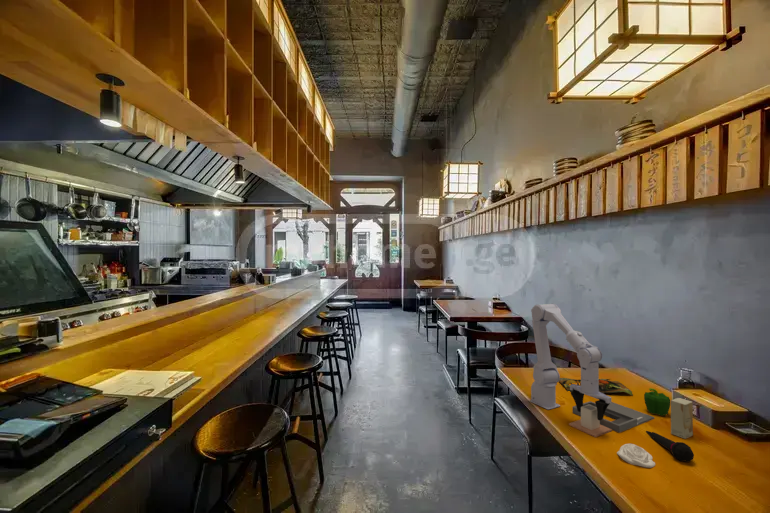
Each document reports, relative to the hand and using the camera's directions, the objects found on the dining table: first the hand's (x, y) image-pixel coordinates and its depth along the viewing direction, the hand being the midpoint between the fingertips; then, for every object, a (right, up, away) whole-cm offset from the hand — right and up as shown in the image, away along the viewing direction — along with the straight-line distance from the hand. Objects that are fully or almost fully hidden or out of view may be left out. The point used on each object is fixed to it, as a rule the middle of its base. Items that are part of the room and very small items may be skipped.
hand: (589, 415), depth 126 cm
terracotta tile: (0, -5, 0) cm, 5 cm away
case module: (0, -4, 0) cm, 4 cm away
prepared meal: (+26, -6, +40) cm, 48 cm away
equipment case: (+15, -5, +10) cm, 18 cm away
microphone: (+18, -5, -14) cm, 23 cm away
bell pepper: (+35, -5, +12) cm, 38 cm away
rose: (+2, -5, -20) cm, 21 cm away
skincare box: (+30, -5, -5) cm, 31 cm away
